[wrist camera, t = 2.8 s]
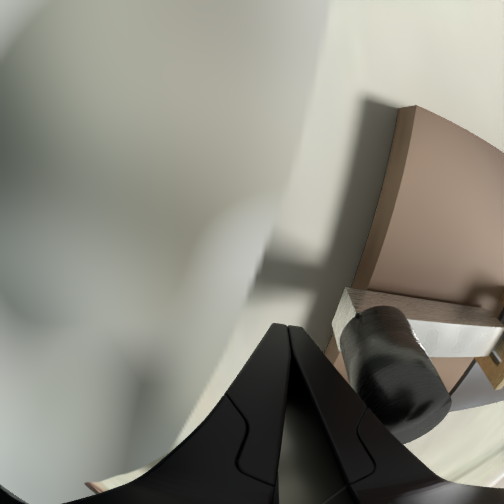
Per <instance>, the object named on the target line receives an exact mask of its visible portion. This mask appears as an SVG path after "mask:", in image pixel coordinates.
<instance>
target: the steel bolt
mask: <svg viewBox="0 0 504 504" xmlns="http://www.w3.org/2000/svg"><path fill="white" fill-rule="evenodd" d="M332 327H333V331H334V335H335V338H336V342H337V346H338V350H339V352H341V353H342V357H343V361H344V365H345V369H346V373H347V377H348V381H349V385H350V386H351V387H352V388H353V389H354V391H355V392H356V393H357V394H358V395H359V397H360V398H361V399H362V400H363V401H364V403H365V404H366V405H367V408H370V410H371V411H372V412H373V413H374V414H375V416H376V417H377V418H378V419H379V420H380V421H381V422H382V424H383V425H384V426H385V427H386V428H387V429H388V430H389V431H390V432H391V433H392V434H393V435H394V436H395V437H396V438H397V439H398V440H399V441H400V442H401V443H402V444H406V443H408V442H411V441H413V440H415V439H417V438H419V437H421V436H422V435H424V434H426V433H427V432H429V431H430V430H432V429H433V428H434V427H435V426H437V425H438V424H439V423H440V422H441V421H442V420H443V419H444V417H445V416H446V415H447V413H448V412H449V410H450V408H451V404H452V400H451V397H450V395H449V393H448V391H447V389H446V387H445V385H444V383H443V381H442V379H441V378H440V376H439V374H438V372H437V370H436V368H435V366H434V365H433V363H432V361H431V359H430V357H484V356H489V354H490V353H491V351H492V350H493V348H494V346H495V345H496V343H497V342H498V340H499V338H500V337H501V335H502V333H503V331H504V325H503V324H502V323H501V322H500V321H499V320H498V319H497V318H496V316H495V315H494V314H493V313H492V312H491V311H490V310H489V309H486V308H478V307H471V306H464V305H457V304H451V303H444V302H437V301H431V300H424V299H418V298H411V297H405V296H398V295H392V294H386V293H380V292H374V291H368V290H362V289H356V288H350V287H345V289H344V292H343V294H342V297H341V300H340V302H339V305H338V308H337V310H336V313H335V316H334V318H333V321H332Z"/></svg>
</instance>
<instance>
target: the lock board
mask: <svg viewBox="0 0 504 504" xmlns="http://www.w3.org/2000/svg"><path fill="white" fill-rule="evenodd" d="M351 288H356V289H362V290H368V291H374V292H380V293H386V294H392V295H398V296H405V297H411V298H418V299H424V300H431V301H437V302H444V303H451V304H457V305H464V306H471V307H478V308H486V309H489V310H490V311H491V312H492V313H493V314H494V315H495V316H496V318H497V319H498V320H499V321H500V322H501V323H502V324H503V325H504V305H503V304H502V303H501V302H500V301H499V298H500V296H501V294H502V291H503V289H504V153H503V152H502V151H500V150H499V149H497V148H495V147H494V146H492V145H491V144H489V143H488V142H486V141H484V140H483V139H481V138H479V137H478V136H476V135H474V134H473V133H471V132H469V131H467V130H466V129H464V128H462V127H460V126H458V125H456V124H454V123H453V122H451V121H449V120H447V119H445V118H443V117H441V116H439V115H437V114H435V113H432V112H430V111H428V110H426V109H424V108H422V107H419V106H417V105H415V106H409V107H403V108H399V109H398V115H397V121H396V126H395V132H394V137H393V142H392V147H391V151H390V156H389V160H388V165H387V169H386V173H385V178H384V182H383V186H382V189H381V193H380V197H379V201H378V205H377V208H376V212H375V215H374V219H373V222H372V226H371V229H370V232H369V236H368V239H367V242H366V245H365V248H364V251H363V254H362V257H361V260H360V263H359V266H358V269H357V272H356V275H355V278H354V281H353V283H352V286H351ZM501 340H504V331H503V333H502V335H501V337H500V338H499V340H498V342H497V343H496V345H495V346H494V348H493V350H492V352H493V353H494V355H495V356H496V357H497V359H498V360H499V362H501V361H502V360H501V359H500V357H499V356H498V355H497V353H496V352H495V350H496V348H497V346H498V345H499V343H500V341H501ZM324 355H325V356H326V357H327V358H328V359H329V361H330V362H331V363H332V364H333V365H334V367H335V368H336V369H337V370H338V371H339V373H340V374H341V375H342V376H343V377H344V379H345V380H346V381H347V382H348V383H349V381H348V377H347V373H346V369H345V365H344V361H343V357H342V353H341V352H339V350H338V346H337V342H336V338H335V335H334V332H333V335H332V337H331V339H330V342H329V344H328V346H327V349H326V351H325V353H324ZM430 359H431V361H432V363H433V365H434V366H435V368H436V370H437V372H438V374H439V376H440V378H441V379H442V381H443V383H444V385H445V387H446V389H447V391H448V393H449V395H450V397H451V400H452V404H451V408H450V410H449V412H452V411H458V410H463V409H469V408H473V407H478V406H483V405H487V404H491V403H495V402H499V401H503V400H504V386H503V387H502V388H501V389H499V390H494V388H493V386H492V385H491V383H490V381H489V380H488V378H487V377H486V375H485V374H484V372H483V370H482V369H481V367H480V366H479V364H478V363H477V361H476V360H475V358H474V357H430Z"/></svg>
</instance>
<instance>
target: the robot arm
mask: <svg viewBox="0 0 504 504" xmlns="http://www.w3.org/2000/svg"><path fill="white" fill-rule="evenodd" d="M0 504H28V503H26V502H25V501H23V500H22V499H20V498H19V497H17V496H16V495H14V494H13V493H11V492H10V491H8V490H7V489H5V488H4V487H3V486H2V485H0ZM63 504H504V488H490V487H480V486H472V485H464V484H458V483H453V482H450V481H447V480H445V479H443V478H441V477H439V476H438V475H436V474H435V473H434V472H432V471H431V470H430V469H429V468H428V467H427V466H426V465H424V464H423V463H422V462H421V461H420V460H419V459H418V458H417V457H416V456H415V455H414V454H413V453H411V452H410V451H409V450H408V449H407V448H406V447H405V446H404V445H403V444H402V443H401V442H400V441H399V440H398V439H397V438H396V437H395V436H394V435H393V434H392V433H391V432H390V431H389V430H388V429H387V428H386V427H385V426H384V425H383V424H382V422H381V421H380V420H379V419H378V418H377V417H376V416H375V414H374V413H373V412H372V411H371V410H370V408H367V405H366V404H365V403H364V401H363V400H362V399H361V398H360V397H359V395H358V394H357V393H356V392H355V391H354V389H353V388H352V387H351V386H350V385H349V383H348V382H347V381H346V380H345V379H344V377H343V376H342V375H341V374H340V373H339V371H338V370H337V369H336V368H335V367H334V365H333V364H332V363H331V362H330V361H329V359H328V358H327V357H326V356H325V355H324V353H323V352H322V351H321V350H320V348H319V347H318V346H317V345H316V344H315V342H314V341H313V340H312V339H311V338H310V336H309V335H308V334H307V333H306V331H305V330H304V329H303V328H302V327H298V326H291V325H289V326H286V325H284V324H278V323H273V324H272V325H271V326H270V328H269V329H268V331H267V332H266V334H265V335H264V337H263V338H262V340H261V341H260V343H259V344H258V346H257V347H256V349H255V350H254V352H253V353H252V355H251V356H250V358H249V359H248V361H247V362H246V364H245V365H244V367H243V368H242V370H241V371H240V372H239V374H238V375H237V377H236V378H235V380H234V381H233V383H232V384H231V385H230V387H229V388H228V390H227V391H226V392H225V394H224V396H222V398H221V399H220V400H219V402H218V403H217V405H216V406H215V407H214V408H213V410H212V411H211V412H210V413H209V415H208V416H207V417H206V418H205V420H204V421H203V422H202V423H201V424H200V425H199V426H198V427H197V428H196V429H195V430H194V431H193V432H192V433H191V434H190V435H189V436H188V437H187V438H186V439H185V440H183V441H182V442H181V443H180V444H179V445H178V446H177V447H176V448H175V449H173V450H172V451H171V452H170V453H169V454H168V455H167V456H166V457H164V458H163V459H162V460H161V461H160V462H159V463H157V464H156V465H155V466H154V467H153V468H151V469H150V470H149V471H147V472H146V473H145V474H143V475H142V476H140V477H138V478H137V479H135V480H133V481H131V482H129V483H127V484H125V485H122V486H119V487H116V488H113V489H111V490H108V491H105V492H102V493H98V494H95V495H92V496H89V497H85V498H82V499H78V500H74V501H71V502H67V503H63Z"/></svg>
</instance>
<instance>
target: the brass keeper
mask: <svg viewBox="0 0 504 504" xmlns="http://www.w3.org/2000/svg"><path fill="white" fill-rule="evenodd" d="M499 301H500V302H501V303H502V304H503V305H504V289H503V291H502V294H501V296H500V298H499ZM495 352H496V353H497V355H498V356H499V357H500V359H501V360H502V361H501V362H499V360H498V359H497V357H496V356H495V355H494V353H493V352H492V351H491V353H490V354H489V356H484V357H474V358H475V360H476V361H477V363H478V364H479V366H480V367H481V369H482V370H483V372H484V374H485V375H486V377H487V378H488V380H489V381H490V383H491V385H492V386H493V388H494V390H499V389H501V388H502V387H503V386H504V340H501V341H500V343H499V345H498V346H497V348H496V350H495Z"/></svg>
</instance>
